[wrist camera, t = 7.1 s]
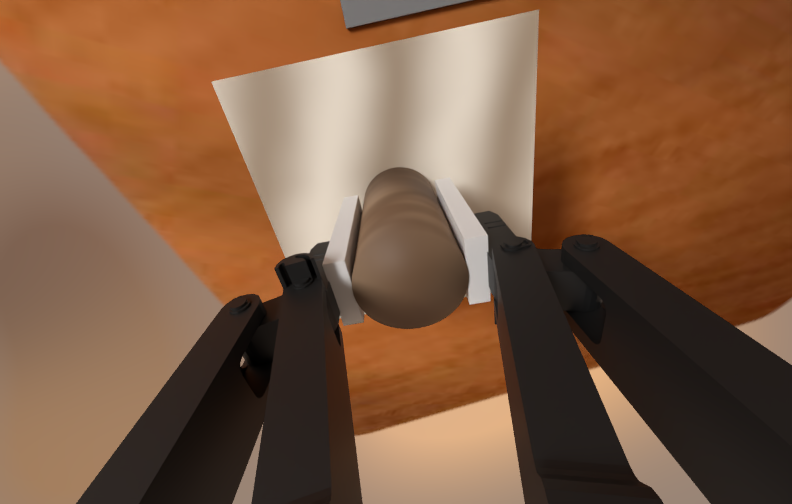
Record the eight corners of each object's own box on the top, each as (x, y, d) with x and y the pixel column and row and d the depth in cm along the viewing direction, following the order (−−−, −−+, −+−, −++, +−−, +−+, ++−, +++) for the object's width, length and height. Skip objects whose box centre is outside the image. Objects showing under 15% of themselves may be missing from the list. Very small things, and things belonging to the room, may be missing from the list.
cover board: (527, 14, 15) (704, -62, 7) (522, 276, 22) (603, 391, 14) (223, 81, 15) (50, 86, 7) (316, 311, 23) (279, 438, 15)
